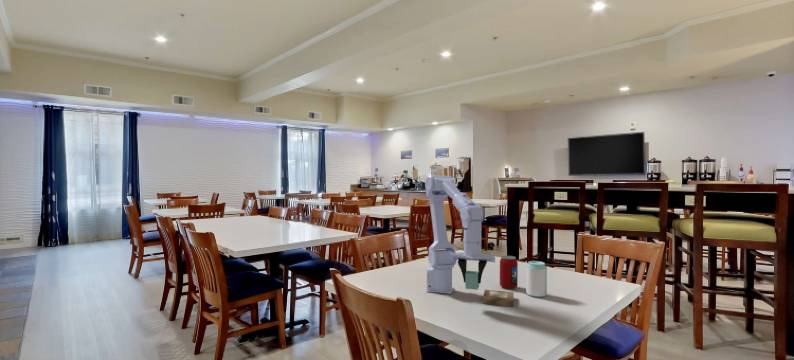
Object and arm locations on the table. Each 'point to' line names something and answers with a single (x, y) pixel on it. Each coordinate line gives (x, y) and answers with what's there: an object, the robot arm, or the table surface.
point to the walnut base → (498, 298)
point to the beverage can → (508, 272)
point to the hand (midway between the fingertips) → (472, 282)
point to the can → (536, 279)
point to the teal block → (471, 280)
